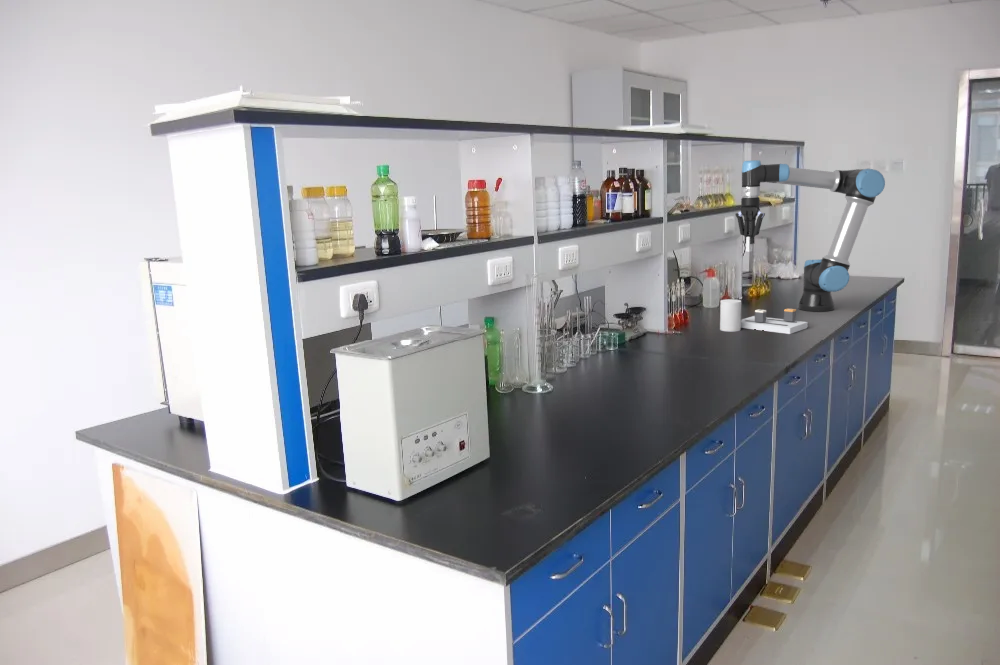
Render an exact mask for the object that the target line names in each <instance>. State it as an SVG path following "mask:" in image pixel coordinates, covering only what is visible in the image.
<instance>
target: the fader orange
mask: <svg viewBox="0 0 1000 665" xmlns="http://www.w3.org/2000/svg"><path fill="white" fill-rule="evenodd" d="M796 316H797V309H796V308H785V309H784V310H783V319H784V321H791V322H793V321H797V318H796Z"/></svg>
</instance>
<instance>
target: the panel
mask: <svg viewBox="0 0 1000 665" xmlns="http://www.w3.org/2000/svg"><path fill="white" fill-rule="evenodd" d="M808 324H809V322H808V321H800V320H796V321H793V322H791V321H784V318H777V317H776V318H774V317H767V316H766V322H755V315H752V316H749V317H746V318H741V329H748V330H754V329H756V331H757V330H758V331H762V330H764V331H765V332H771V333H777V334H778V333H779V334H787V335H790V334H794V333H797V332H799V331H803V330H805V329H808Z"/></svg>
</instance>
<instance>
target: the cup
mask: <svg viewBox="0 0 1000 665" xmlns="http://www.w3.org/2000/svg"><path fill="white" fill-rule="evenodd" d="M719 306H720V310H719V311H720V313H719V314H720V317H719V330H720V331H722V332H729V333H730V332H739V331H741V329H742V328H741V320H742V300H741V299H731V298H728V299H721V300H720V305H719Z"/></svg>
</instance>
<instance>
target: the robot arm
mask: <svg viewBox="0 0 1000 665" xmlns="http://www.w3.org/2000/svg"><path fill="white" fill-rule="evenodd" d="M761 183H769V184H770V183H771V184H781V185H789V186H796V187H797V186H799V187H807V188H816V189H826V190H829V191H830V192H831V193H840V194H844V195H845V196H844V198H845V200H846V203H845V207H844V210H843V213H842V215H841V217H840V220H839V223H838V226H837V228H836V231H835V233H834V236H833V240H832V242H831V244H830V248H829V251H828V253H827V254H826V255H824V256H822V259H807V260H805V261H804V266H803V285H802V286H803V290H802V291H803V292H802V295H801V296H800V300H799V303H798V309H799V310H801V311H806V312H830V311H834V310H835V304H834V303H835V302H834V299H833V296H832V293H835V292H837V293H838V292H839V291H842V290H844V289H845V287H847V286H848V284H849V282H850V273H849V269H850V267H851V264H850V261H849V258H850V256H851V254H852V251H853V248H854V245H855V242H856V240H857V237H858V235H859V231H860V229H861V227H862V224H863V221H864V219H865V216H866V214H867V211H868V208H869V207H870V206H872V205H874V203H875V200H876V198H877V197H878V196H880V194H881V193H882V192H883V191H884V189H885V186H886V179H885V177H884V175H883V173H882V172H880V171H879V170H877V169H874V168H873V169H872V168H863V169H861V168H860V169H857V168H855V169H850V170H849V169H848V170H845V169H844V170H843V169H842V170H840V169H839V170H838V169H835V170H833V171H827V170H818V169H807V168H798V167H790V166H789V164H787V163H774V164H773V163H770V164H762V162H761V160H760V159H757V160H756V159H755V160H744V161H742V166H741V199H740V200H741V201H740V203H741V204H740V205H741V209H740V211H738V212H737V213H735V217H736V219H737V223H738V228H739V233H740V235H741V236H744V244H745V252H746V253H747V252H748V253H749V252H753V245H754V244H755V236H759V234H760V231H761V227H762V223H763V219H764V217H765V215H766V213H765V212H762V211H761V209H760V204H761V203H760V199H761V198H760V197H759V196H760V195H761Z"/></svg>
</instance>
